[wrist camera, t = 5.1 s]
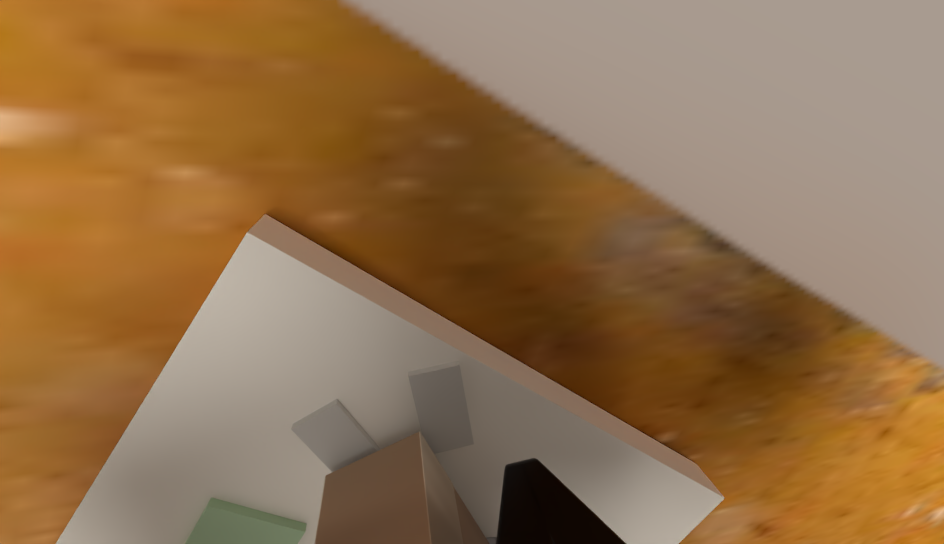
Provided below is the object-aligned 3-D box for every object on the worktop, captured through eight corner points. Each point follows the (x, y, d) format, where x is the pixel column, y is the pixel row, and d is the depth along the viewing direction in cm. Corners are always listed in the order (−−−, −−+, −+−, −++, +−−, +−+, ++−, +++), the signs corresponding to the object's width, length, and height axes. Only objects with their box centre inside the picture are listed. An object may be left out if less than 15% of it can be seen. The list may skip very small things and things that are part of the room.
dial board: (696, 463, 13) (730, 504, 12) (487, 676, 15) (497, 730, 14) (264, 214, 8) (243, 235, 7) (46, 567, 10) (-1, 633, 9)
